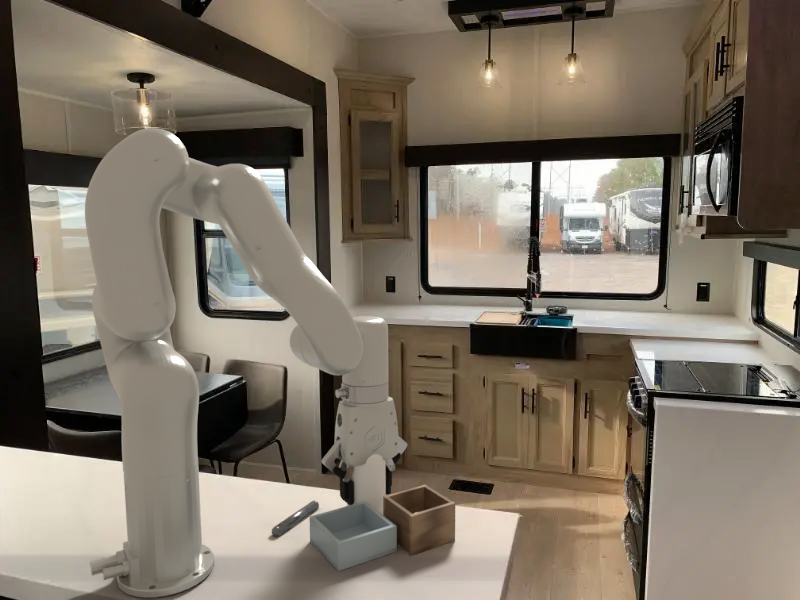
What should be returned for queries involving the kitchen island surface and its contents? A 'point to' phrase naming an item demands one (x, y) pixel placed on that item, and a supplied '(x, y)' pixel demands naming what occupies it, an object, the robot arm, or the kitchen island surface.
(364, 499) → the can
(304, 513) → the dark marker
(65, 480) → the kitchen island surface
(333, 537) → the light blue tray
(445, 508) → the walnut box
